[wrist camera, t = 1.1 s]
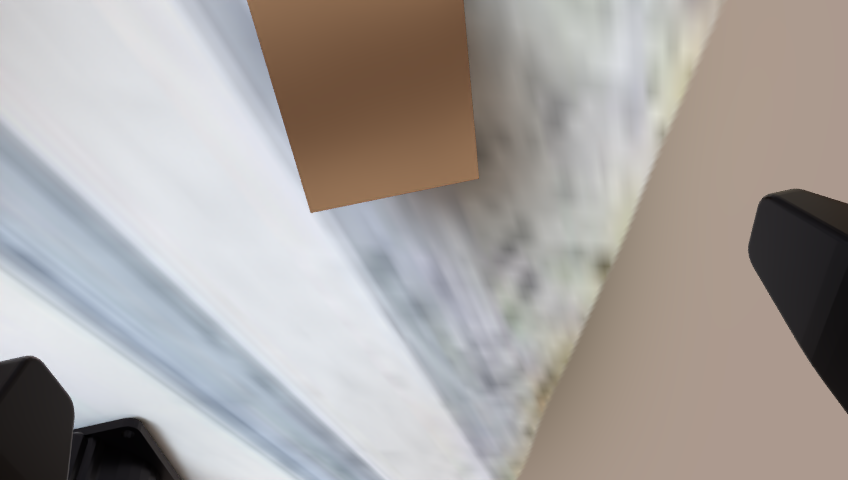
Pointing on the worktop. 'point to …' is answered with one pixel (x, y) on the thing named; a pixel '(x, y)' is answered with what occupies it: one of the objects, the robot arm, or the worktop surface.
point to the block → (371, 94)
